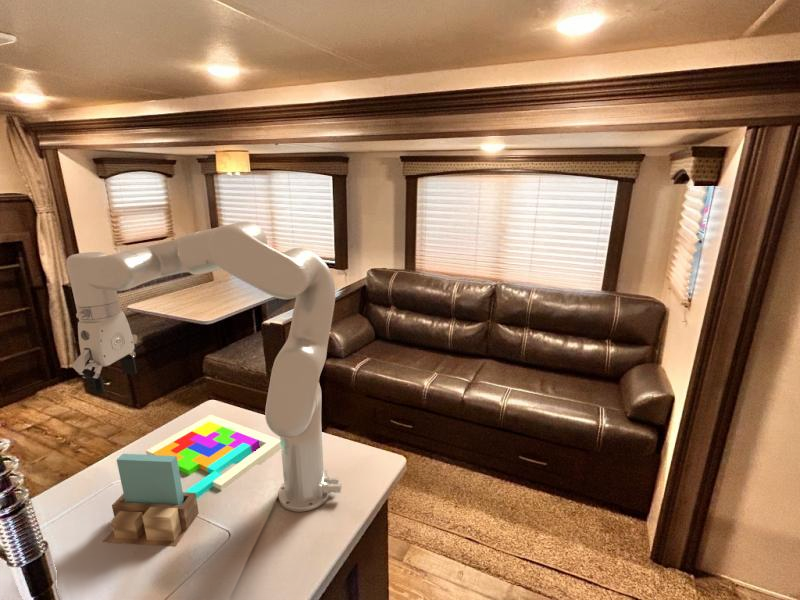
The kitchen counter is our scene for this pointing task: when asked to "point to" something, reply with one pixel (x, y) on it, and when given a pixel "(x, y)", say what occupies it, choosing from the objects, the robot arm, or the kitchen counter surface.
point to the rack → (185, 511)
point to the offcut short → (128, 525)
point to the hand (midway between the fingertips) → (114, 383)
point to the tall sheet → (150, 479)
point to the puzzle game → (217, 451)
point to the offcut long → (162, 523)
